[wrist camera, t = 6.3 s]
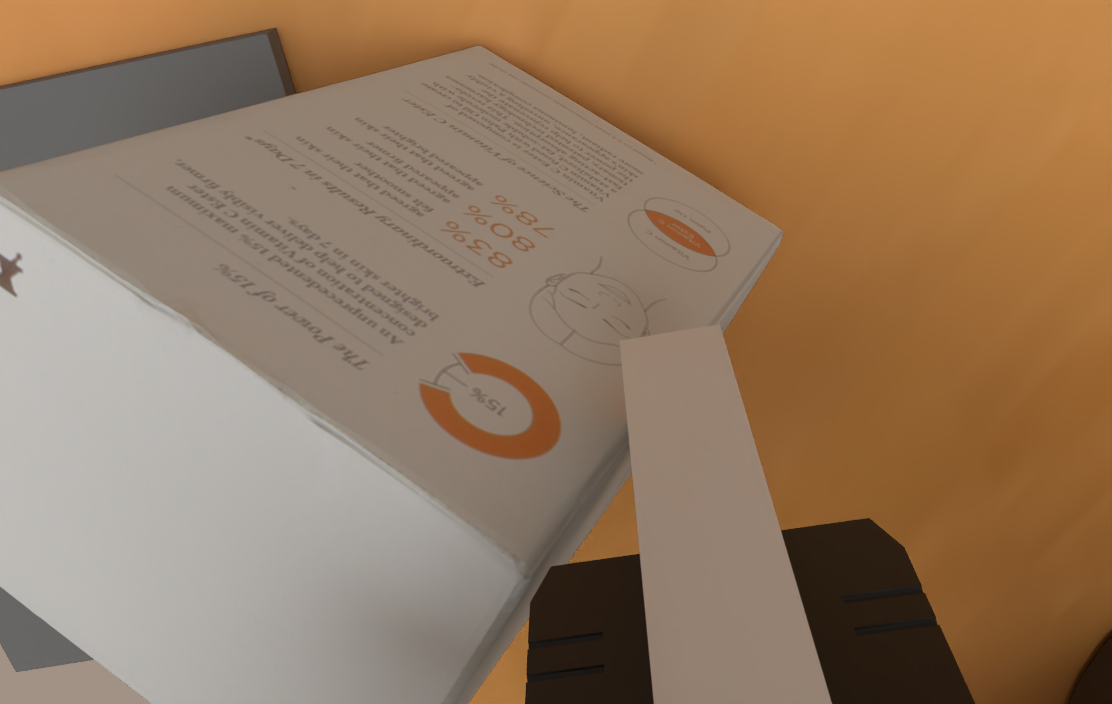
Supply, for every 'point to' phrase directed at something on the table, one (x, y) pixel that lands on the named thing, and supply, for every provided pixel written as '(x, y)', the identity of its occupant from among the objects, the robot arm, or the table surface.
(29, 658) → the mat
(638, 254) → the small box
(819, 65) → the table surface
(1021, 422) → the table surface
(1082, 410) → the table surface
